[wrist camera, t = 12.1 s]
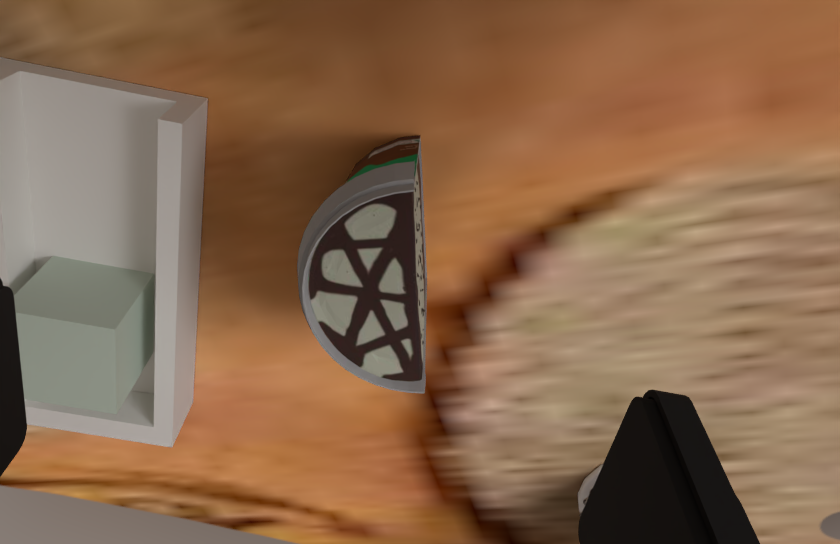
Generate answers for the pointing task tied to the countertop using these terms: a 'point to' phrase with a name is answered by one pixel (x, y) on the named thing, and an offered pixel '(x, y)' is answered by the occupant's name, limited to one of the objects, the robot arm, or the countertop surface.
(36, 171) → the white tray
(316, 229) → the food container
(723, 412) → the countertop surface
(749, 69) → the countertop surface
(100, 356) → the sage block
